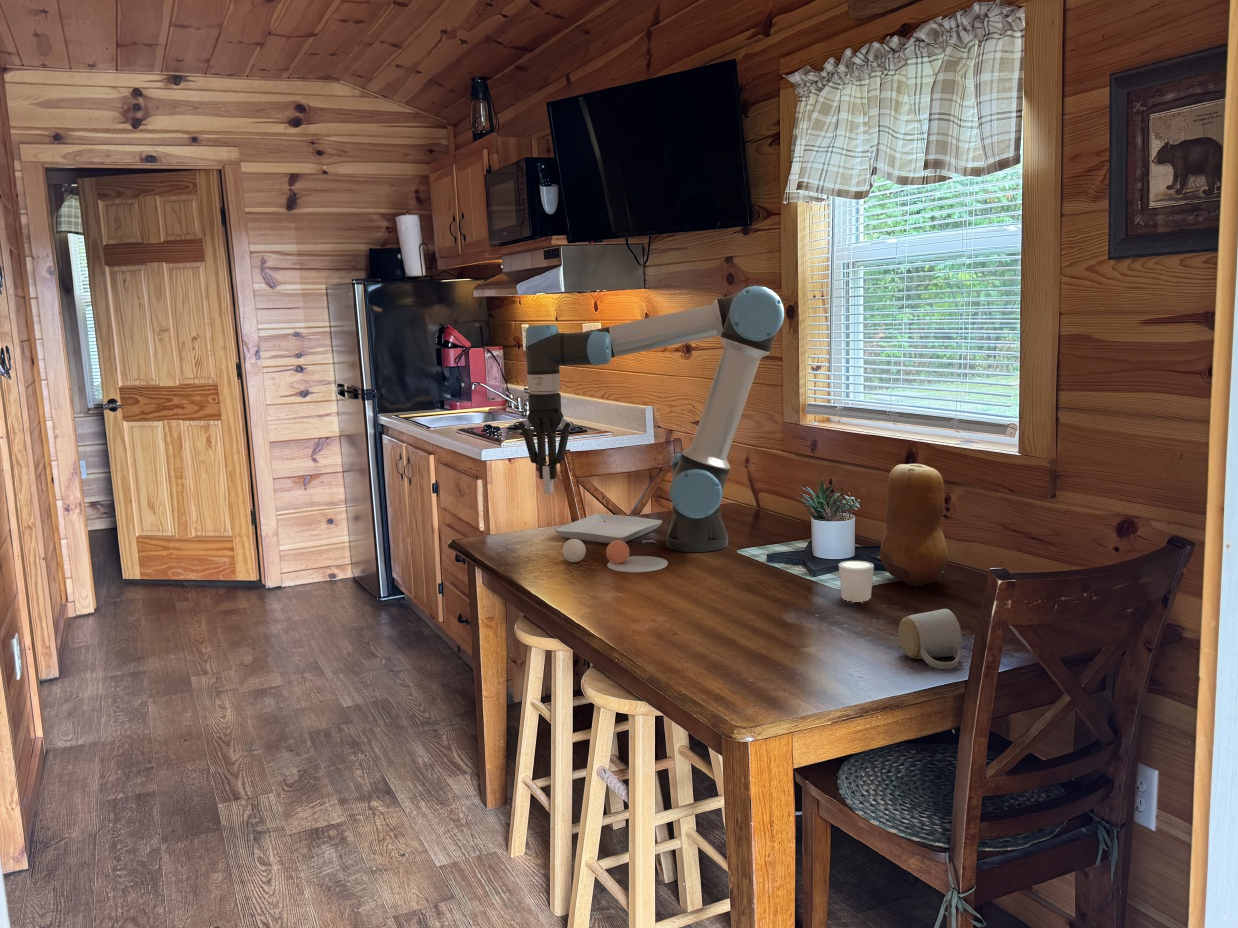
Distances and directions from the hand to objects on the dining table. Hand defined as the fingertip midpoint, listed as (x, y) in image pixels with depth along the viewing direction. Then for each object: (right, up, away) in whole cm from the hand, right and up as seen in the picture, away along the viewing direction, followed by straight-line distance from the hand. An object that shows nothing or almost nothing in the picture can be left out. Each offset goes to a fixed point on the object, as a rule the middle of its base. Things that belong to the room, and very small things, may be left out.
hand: (548, 492), depth 234 cm
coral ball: (+16, -14, -2) cm, 21 cm away
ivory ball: (+6, -14, +1) cm, 15 cm away
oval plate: (+21, -16, -3) cm, 27 cm away
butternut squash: (+78, -18, -26) cm, 84 cm away
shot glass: (+64, -20, -35) cm, 75 cm away
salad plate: (+14, -12, +28) cm, 33 cm away
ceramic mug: (+68, -26, -69) cm, 101 cm away
